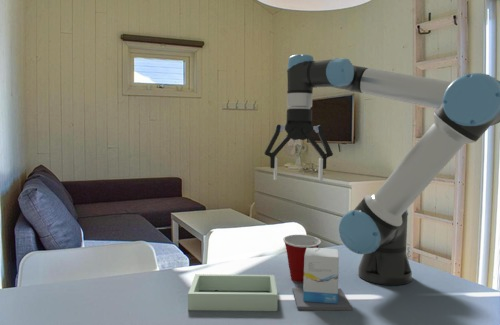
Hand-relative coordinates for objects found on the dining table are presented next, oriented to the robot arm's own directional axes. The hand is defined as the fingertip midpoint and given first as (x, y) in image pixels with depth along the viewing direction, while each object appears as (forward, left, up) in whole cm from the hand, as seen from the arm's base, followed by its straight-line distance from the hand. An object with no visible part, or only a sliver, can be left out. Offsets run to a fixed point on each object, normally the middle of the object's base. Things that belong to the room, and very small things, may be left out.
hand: (297, 179), depth 135 cm
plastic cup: (-1, +7, -29) cm, 29 cm away
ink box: (-4, +23, -28) cm, 36 cm away
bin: (+18, +23, -28) cm, 41 cm away
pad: (-4, +23, -28) cm, 36 cm away
